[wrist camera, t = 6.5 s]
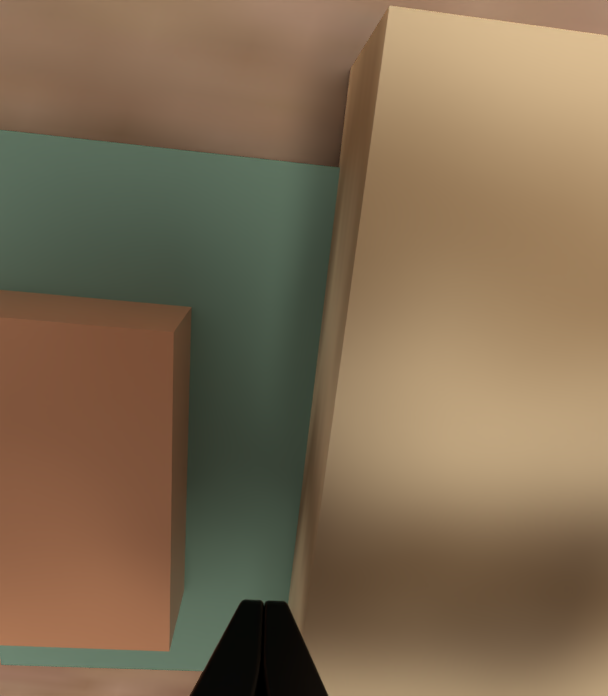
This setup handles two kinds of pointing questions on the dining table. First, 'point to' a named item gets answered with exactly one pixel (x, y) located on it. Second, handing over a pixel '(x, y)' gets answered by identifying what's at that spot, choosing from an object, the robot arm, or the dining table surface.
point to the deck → (463, 370)
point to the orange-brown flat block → (92, 471)
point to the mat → (193, 338)
